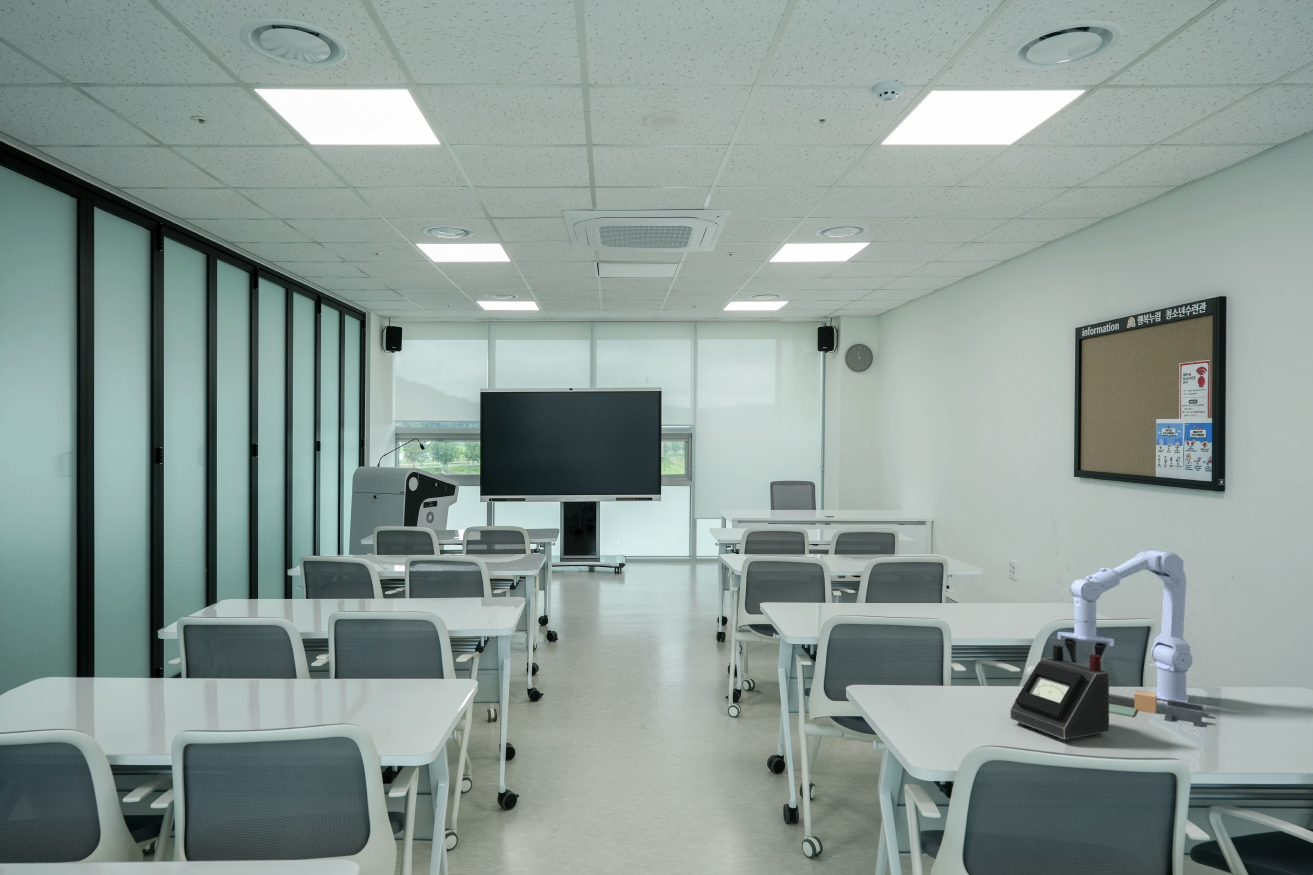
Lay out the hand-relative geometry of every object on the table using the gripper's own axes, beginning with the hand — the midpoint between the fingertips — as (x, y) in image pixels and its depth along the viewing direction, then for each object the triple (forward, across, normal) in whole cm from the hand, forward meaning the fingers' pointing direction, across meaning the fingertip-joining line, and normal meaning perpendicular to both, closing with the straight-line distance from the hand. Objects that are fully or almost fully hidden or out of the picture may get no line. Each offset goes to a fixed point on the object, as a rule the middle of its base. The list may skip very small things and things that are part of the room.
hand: (1085, 666), depth 224 cm
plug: (+9, +11, 0) cm, 14 cm away
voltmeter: (+10, -1, -36) cm, 37 cm away
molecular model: (+10, -8, -18) cm, 22 cm away
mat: (+9, +9, -6) cm, 14 cm away
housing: (+9, +24, 0) cm, 26 cm away
